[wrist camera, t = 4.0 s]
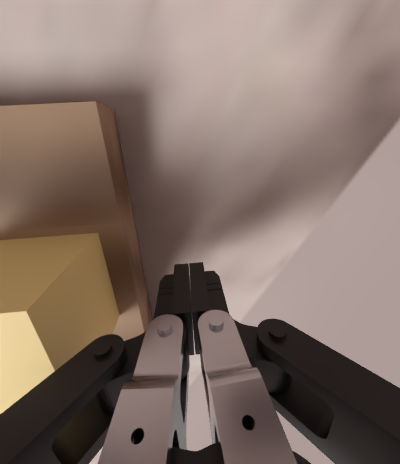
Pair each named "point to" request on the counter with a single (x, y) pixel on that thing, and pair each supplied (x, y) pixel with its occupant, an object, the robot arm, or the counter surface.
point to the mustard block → (49, 307)
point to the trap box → (73, 191)
